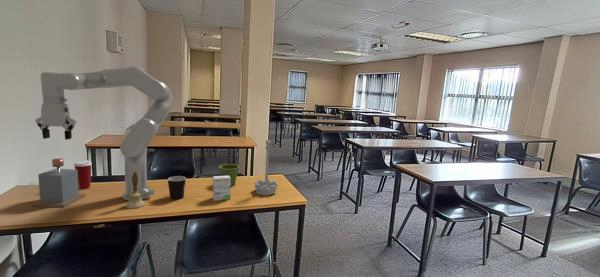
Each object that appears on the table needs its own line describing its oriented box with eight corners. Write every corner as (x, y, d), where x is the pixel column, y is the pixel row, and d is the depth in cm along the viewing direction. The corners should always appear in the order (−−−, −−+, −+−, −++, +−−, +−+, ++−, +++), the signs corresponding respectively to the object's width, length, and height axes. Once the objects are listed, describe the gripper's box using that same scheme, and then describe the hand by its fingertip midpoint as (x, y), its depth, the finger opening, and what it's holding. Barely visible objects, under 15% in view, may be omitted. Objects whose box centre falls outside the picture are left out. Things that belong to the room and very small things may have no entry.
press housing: (85, 196, 147) (84, 168, 144) (64, 207, 133) (62, 177, 131) (56, 194, 146) (54, 167, 144) (32, 205, 132) (29, 175, 130)
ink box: (228, 196, 159) (229, 175, 157) (230, 199, 154) (231, 177, 152) (212, 197, 155) (212, 175, 154) (213, 201, 151) (213, 178, 149)
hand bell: (140, 200, 146) (139, 169, 143) (148, 205, 140) (147, 173, 138) (122, 205, 139) (120, 172, 137) (129, 210, 134) (128, 176, 131)
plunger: (73, 195, 143) (70, 158, 140) (62, 200, 136) (59, 161, 133) (58, 195, 142) (55, 157, 140) (46, 200, 136) (43, 160, 133)
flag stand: (280, 194, 166) (283, 142, 161) (257, 196, 161) (259, 142, 156) (273, 187, 178) (276, 138, 173) (252, 188, 173) (254, 138, 168)
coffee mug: (179, 201, 148) (179, 182, 146) (164, 199, 149) (163, 179, 148) (192, 193, 159) (192, 175, 157) (177, 191, 161) (177, 173, 159)
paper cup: (96, 186, 162) (95, 161, 159) (85, 190, 154) (83, 164, 152) (83, 184, 162) (81, 159, 160) (71, 189, 155) (69, 163, 153)
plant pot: (233, 180, 186) (233, 163, 184) (242, 185, 177) (243, 167, 175) (215, 183, 178) (215, 165, 176) (223, 189, 169) (224, 170, 168)
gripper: (79, 101, 136) (82, 138, 139) (41, 99, 136) (44, 136, 138) (67, 101, 129) (70, 140, 132) (26, 100, 128) (30, 139, 131)
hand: (57, 138), depth 135 cm, fingers open, 9 cm apart
